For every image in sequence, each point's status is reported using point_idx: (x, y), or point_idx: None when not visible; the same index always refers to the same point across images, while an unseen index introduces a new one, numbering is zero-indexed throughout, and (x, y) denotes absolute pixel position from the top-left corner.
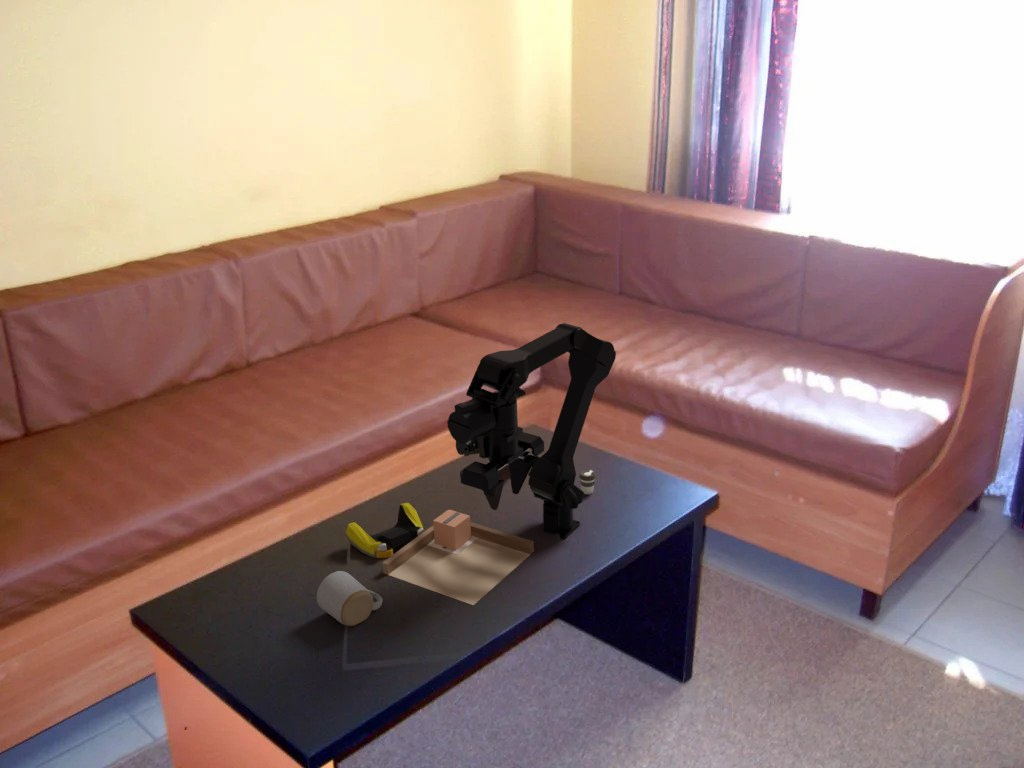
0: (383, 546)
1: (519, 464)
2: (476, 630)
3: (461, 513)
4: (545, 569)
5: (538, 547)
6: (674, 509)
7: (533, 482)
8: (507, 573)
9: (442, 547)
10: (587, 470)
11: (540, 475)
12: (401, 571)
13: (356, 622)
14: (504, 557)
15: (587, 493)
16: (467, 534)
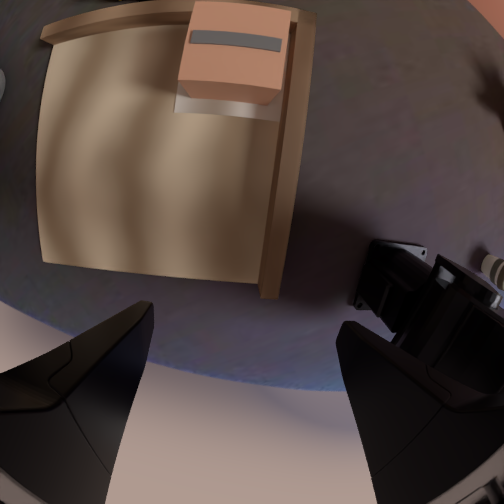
0: None
1: (412, 483)
2: (22, 288)
3: (283, 56)
4: (228, 322)
5: (306, 274)
6: None
7: (447, 315)
8: (158, 272)
9: None
10: None
11: (455, 361)
12: (68, 54)
13: None
14: (216, 234)
15: (482, 268)
16: (251, 99)
